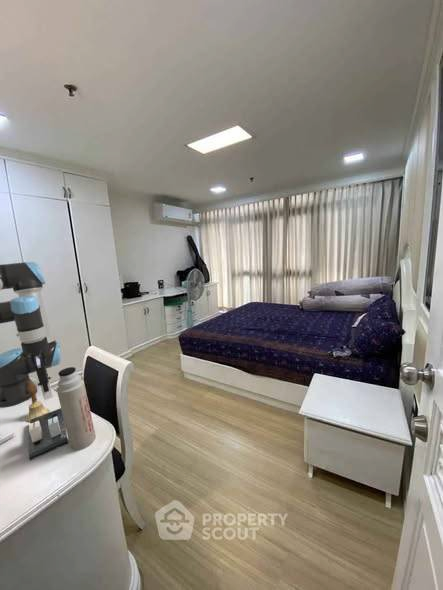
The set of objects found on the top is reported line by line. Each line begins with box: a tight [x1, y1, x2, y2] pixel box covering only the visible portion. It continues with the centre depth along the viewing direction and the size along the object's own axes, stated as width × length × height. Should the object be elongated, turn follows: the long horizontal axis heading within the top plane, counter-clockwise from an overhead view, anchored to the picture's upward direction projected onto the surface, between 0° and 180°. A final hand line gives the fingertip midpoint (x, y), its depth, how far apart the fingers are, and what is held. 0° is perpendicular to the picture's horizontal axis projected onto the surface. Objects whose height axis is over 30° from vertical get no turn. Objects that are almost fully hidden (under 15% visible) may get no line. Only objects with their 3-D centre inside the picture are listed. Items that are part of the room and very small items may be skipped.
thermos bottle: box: [56, 366, 96, 451], centre depth 85 cm, size 8×8×28 cm
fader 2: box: [48, 416, 61, 438], centre depth 89 cm, size 4×3×6 cm
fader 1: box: [28, 421, 42, 443], centre depth 87 cm, size 4×3×6 cm
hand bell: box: [25, 380, 51, 423], centre depth 103 cm, size 8×8×16 cm
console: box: [27, 407, 69, 461], centre depth 93 cm, size 22×11×3 cm, turn 36°
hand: (48, 397), depth 92 cm, fingers closed
